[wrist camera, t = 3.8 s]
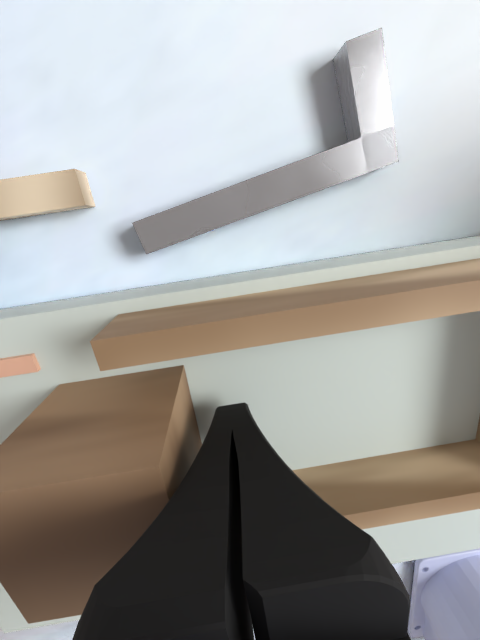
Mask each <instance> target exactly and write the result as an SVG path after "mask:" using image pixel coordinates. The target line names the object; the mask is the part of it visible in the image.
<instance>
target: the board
mask: <svg viewBox="0 0 480 640" xmlns="http://www.w3.org/2000/svg"><path fill="white" fill-rule="evenodd" d="M478 258H480V236H474V237H467V238H461V239H454V240H448V241H441V242H434V243H428V244H421V245H415V246H408V247H402V248H395V249H389V250H382V251H376V252H369V253H363V254H356V255H350V256H343V257H337V258H330V259H324V260H317V261H311V262H304V263H298V264H291V265H285V266H278V267H271V268H265V269H258V270H252V271H245V272H239V273H232V274H226V275H219V276H213V277H206V278H200V279H193V280H187V281H180V282H174V283H167V284H161V285H154V286H148V287H141V288H135V289H128V290H122V291H115V292H108V293H102V294H95V295H89V296H82V297H76V298H69V299H63V300H56V301H50V302H43V303H37V304H30V305H24V306H17V307H11V308H4V309H0V358H7V357H13V356H19V355H26V354H32V353H34V354H35V356H36V358H37V361H38V363H39V365H40V368H41V370H40V371H38V372H34V373H27V374H21V375H15V376H8V377H2V378H0V445H1V443H2V442H3V441H4V440H5V439H6V438H7V437H8V436H9V435H10V434H11V433H12V432H13V431H14V430H15V429H16V428H17V427H18V426H19V425H20V424H21V423H22V422H23V421H24V420H25V419H26V418H27V417H28V416H29V415H30V414H31V413H32V412H33V411H34V410H35V409H36V408H37V407H38V406H39V405H40V404H41V403H42V402H43V401H44V400H45V399H46V398H47V397H48V395H49V394H50V393H51V392H52V391H53V390H54V389H55V388H56V387H57V386H58V385H59V384H65V383H71V382H78V381H84V380H91V379H97V378H103V377H110V376H116V375H123V374H129V373H136V372H142V371H149V370H155V369H162V368H168V367H175V366H181V365H184V368H185V372H186V377H187V381H188V385H189V390H190V394H191V398H192V403H193V407H194V412H195V416H196V420H197V425H198V429H199V433H200V438H201V442H202V444H203V442H204V439H205V437H206V435H207V433H208V430H209V428H210V425H211V423H212V420H213V417H214V414H215V410H216V408H217V407H219V406H225V405H231V404H238V403H244V402H245V403H246V404H248V407H249V410H250V412H251V414H252V416H253V418H254V420H255V422H256V424H257V425H258V427H259V429H260V430H261V432H262V433H263V435H264V436H265V438H266V439H267V441H268V442H269V443H270V445H271V446H272V447H273V449H274V450H275V451H276V452H277V454H278V455H279V456H280V457H281V459H282V460H283V461H284V462H285V463H286V464H287V465H288V467H289V468H290V469H291V470H297V469H303V468H309V467H314V466H320V465H326V464H332V463H338V462H344V461H350V460H356V459H362V458H367V457H373V456H379V455H385V454H391V453H397V452H403V451H409V450H415V449H421V448H426V447H432V446H438V445H444V444H450V443H456V442H462V441H468V440H474V439H476V433H477V427H478V422H479V416H480V311H476V312H469V313H463V314H457V315H451V316H444V317H438V318H432V319H425V320H419V321H413V322H407V323H400V324H394V325H388V326H382V327H375V328H369V329H363V330H356V331H350V332H344V333H338V334H331V335H325V336H319V337H313V338H306V339H300V340H294V341H287V342H281V343H275V344H269V345H262V346H256V347H250V348H244V349H237V350H231V351H225V352H218V353H212V354H206V355H200V356H193V357H187V358H181V359H175V360H168V361H162V362H156V363H149V364H143V365H137V366H131V367H124V368H118V369H112V370H106V371H100V369H99V366H98V363H97V360H96V358H95V355H94V352H93V349H92V346H91V343H90V341H91V340H92V339H93V338H94V337H95V336H96V335H97V334H98V333H99V332H100V331H101V330H102V329H103V328H104V327H105V326H107V325H108V324H109V323H110V322H111V321H112V320H113V319H114V318H115V317H116V316H117V315H118V314H124V313H130V312H137V311H143V310H150V309H156V308H162V307H169V306H175V305H182V304H188V303H195V302H201V301H208V300H214V299H220V298H227V297H233V296H240V295H246V294H253V293H259V292H266V291H272V290H278V289H285V288H291V287H298V286H304V285H311V284H317V283H324V282H330V281H336V280H343V279H349V278H356V277H362V276H369V275H375V274H382V273H388V272H394V271H401V270H407V269H414V268H420V267H427V266H433V265H440V264H446V263H452V262H459V261H465V260H472V259H478ZM362 530H363V531H365V532H366V533H367V534H369V535H370V536H372V537H373V538H374V540H375V541H376V542H377V544H378V545H379V546H380V548H381V549H382V551H383V552H384V553H385V555H386V556H387V558H388V559H389V561H390V562H391V564H395V563H401V562H406V561H412V560H417V559H423V558H429V557H434V556H440V555H446V554H451V553H457V552H462V551H468V550H474V549H479V548H480V509H476V510H470V511H465V512H459V513H453V514H448V515H442V516H436V517H430V518H425V519H419V520H413V521H408V522H402V523H396V524H390V525H385V526H379V527H373V528H368V529H362ZM80 617H81V615H77V616H71V617H65V618H59V619H54V620H48V621H42V622H36V623H30V624H28V623H27V621H26V620H25V618H24V617H23V615H22V614H21V612H20V611H19V609H18V608H17V606H16V605H15V604H14V602H13V601H12V599H11V598H10V596H9V595H8V593H7V592H6V590H5V589H4V587H3V586H2V584H1V583H0V628H1V629H2V631H3V632H4V633H8V632H14V631H20V630H25V629H31V628H36V627H42V626H48V625H53V624H59V623H64V622H70V621H76V620H80Z"/></svg>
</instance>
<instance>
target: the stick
mask: <svg viewBox="0 0 480 640" xmlns="http://www.w3.org/2000/svg"><path fill="white" fill-rule="evenodd" d="M89 207H95V204H94V200H93V197H92V194H91V190H90V187H89V183H88V180H87V177H86V173H84V172H82V171H79V170H76V169H70V170H64V171H57V172H50V173H43V174H36V175H29V176H22V177H16V178H9V179H2V180H0V221H2V220H9V219H16V218H22V217H29V216H36V215H42V214H49V213H56V212H63V211H69V210H76V209H83V208H89Z"/></svg>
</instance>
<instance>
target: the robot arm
mask: <svg viewBox="0 0 480 640" xmlns="http://www.w3.org/2000/svg"><path fill="white" fill-rule="evenodd" d="M409 612H410V614H409ZM408 621H409V624H408ZM252 624H253V625H252ZM253 629H254V634H255V638H256V640H411V639H410V637H409V635H408V633H407V630H408V632H409V634H410V636H411V637H412V638H420V637H424V638H425V640H480V548H479V549H474V550H468V551H462V552H457V553H451V554H446V555H440V556H434V557H429V558H423V559H417V560H415V568H414V577H413V586H412V596H411V605H410V599H409V594H408V593H407V591H406V588H405V586H404V584H403V582H402V580H401V579H400V577H399V575H398V574H397V572H396V570H395V569H394V567H393V566H392V564H391V562H390V561H389V559H388V558H387V556H386V555H385V553H384V552H383V551H382V549H381V548H380V546H379V545H378V544H377V542H376V541H375V540H374V538H373V537H372V536H370V535H369V534H367V533H366V532H365V531H363V530H362V529H360V528H359V527H357V526H356V525H355V524H353V523H352V522H351V521H349V520H348V519H347V518H345V517H344V516H343V515H341V514H340V513H339V512H337V511H336V510H335V509H334V508H332V507H331V506H330V505H329V504H327V503H326V502H325V501H324V500H323V499H322V498H321V497H319V496H318V495H317V494H316V493H315V492H314V491H313V490H312V489H311V488H309V487H308V486H307V485H306V484H305V483H304V482H303V481H302V480H301V479H300V478H299V477H298V476H297V475H296V474H295V473H294V472H293V471H292V470H291V469H290V468H289V467H288V465H287V464H286V463H285V462H284V461H283V460H282V459H281V457H280V456H279V455H278V454H277V452H276V451H275V450H274V449H273V447H272V446H271V445H270V443H269V442H268V441H267V439H266V438H265V436H264V435H263V433H262V432H261V430H260V429H259V427H258V425H257V424H256V422H255V420H254V418H253V416H252V414H251V412H250V410H249V407H248V404H246V403H245V402H244V403H238V404H231V405H225V406H219V407H217V408H216V410H215V414H214V417H213V420H212V423H211V425H210V428H209V430H208V433H207V435H206V437H205V439H204V442H203V444H202V446H201V448H200V450H199V452H198V454H197V456H196V458H195V460H194V461H193V463H192V465H191V467H190V469H189V470H188V472H187V474H186V476H185V477H184V479H183V480H182V482H181V484H180V485H179V487H178V488H177V490H176V491H175V493H174V494H173V496H172V497H171V498H170V500H169V501H168V503H167V504H166V505H165V507H164V508H163V509H162V511H161V512H160V513H159V515H158V516H157V517H156V519H155V520H154V521H153V522H152V523H151V525H150V526H149V527H148V528H147V529H146V531H145V532H144V533H143V534H142V535H141V537H140V538H139V539H138V540H137V541H136V543H135V544H134V545H133V546H132V547H131V548H130V549H129V550H128V552H127V553H126V554H125V555H124V556H123V557H122V558H121V559H120V560H119V561H118V562H117V563H116V564H115V565H114V566H113V567H112V568H111V569H110V570H109V571H108V572H107V573H106V574H105V575H104V576H103V577H102V578H101V579H100V580H99V581H98V582H97V583H96V584H95V585H94V588H93V590H92V592H91V595H90V597H89V599H88V602H87V604H86V606H85V608H84V610H83V613H82V615H81V617H80V620H79V622H78V625H77V628H76V631H75V634H74V637H73V640H254V635H253Z"/></svg>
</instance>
